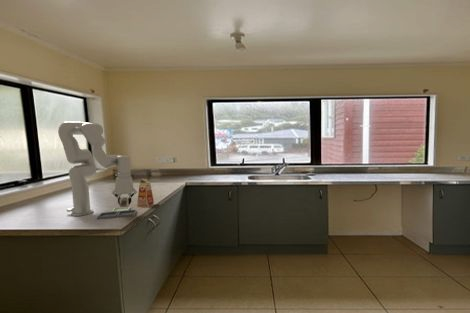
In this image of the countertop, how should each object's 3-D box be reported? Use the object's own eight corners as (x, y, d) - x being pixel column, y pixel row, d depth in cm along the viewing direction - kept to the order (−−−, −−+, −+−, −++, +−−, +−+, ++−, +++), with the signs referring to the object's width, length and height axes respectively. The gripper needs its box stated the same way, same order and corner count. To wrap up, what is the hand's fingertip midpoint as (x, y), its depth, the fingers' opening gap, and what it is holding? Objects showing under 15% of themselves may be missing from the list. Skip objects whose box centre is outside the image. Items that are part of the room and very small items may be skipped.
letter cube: (119, 207, 167) (119, 199, 166) (121, 205, 172) (121, 197, 171) (128, 206, 168) (128, 198, 167) (129, 204, 173) (129, 196, 172)
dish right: (117, 218, 164) (116, 215, 164) (120, 213, 174) (120, 211, 174) (134, 216, 166) (134, 213, 166) (136, 212, 176) (136, 209, 176)
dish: (111, 213, 174) (111, 211, 174) (114, 209, 184) (114, 207, 183) (128, 212, 176) (127, 210, 176) (130, 208, 186) (130, 206, 185)
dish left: (97, 219, 162) (97, 217, 162) (101, 215, 172) (101, 212, 172) (115, 218, 164) (115, 215, 164) (118, 213, 174) (118, 211, 174)
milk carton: (148, 207, 187) (146, 178, 186) (136, 207, 189) (134, 178, 187) (154, 204, 196) (153, 176, 194) (143, 203, 198) (141, 176, 196)
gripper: (107, 176, 163) (108, 206, 164) (137, 176, 166) (138, 205, 168) (110, 174, 170) (111, 203, 172) (139, 174, 174) (139, 202, 175)
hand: (124, 203), depth 170 cm, fingers closed on letter cube, 5 cm apart
